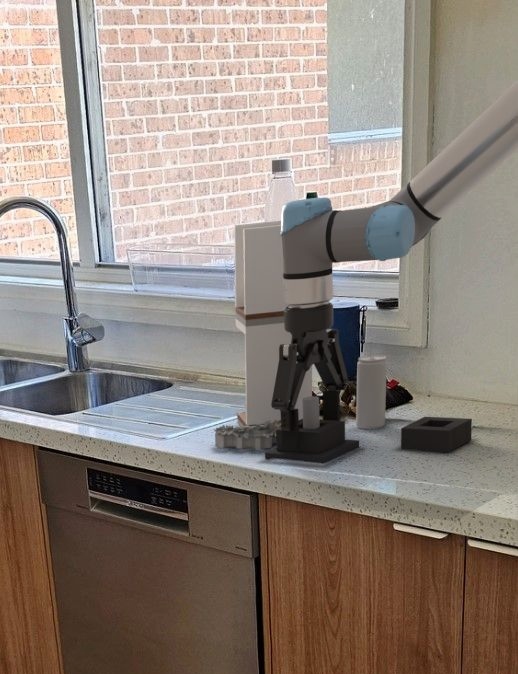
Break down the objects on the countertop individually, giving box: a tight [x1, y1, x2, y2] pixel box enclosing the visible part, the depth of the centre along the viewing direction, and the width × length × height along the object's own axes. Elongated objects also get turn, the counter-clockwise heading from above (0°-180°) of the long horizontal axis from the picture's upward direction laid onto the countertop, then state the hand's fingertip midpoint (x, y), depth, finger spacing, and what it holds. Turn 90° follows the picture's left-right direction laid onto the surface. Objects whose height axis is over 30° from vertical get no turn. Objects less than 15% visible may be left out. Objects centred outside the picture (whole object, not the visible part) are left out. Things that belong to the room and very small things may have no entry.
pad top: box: [400, 416, 473, 453], centre depth 196 cm, size 8×8×4 cm
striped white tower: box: [233, 219, 313, 429], centre depth 215 cm, size 11×11×35 cm
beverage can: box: [355, 354, 388, 430], centre depth 210 cm, size 5×5×12 cm
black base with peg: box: [264, 395, 360, 464], centre depth 199 cm, size 11×11×10 cm
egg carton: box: [213, 420, 281, 451], centre depth 211 cm, size 11×8×4 cm
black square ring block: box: [275, 419, 346, 454], centre depth 200 cm, size 8×8×4 cm
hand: (311, 439), depth 200 cm, fingers open, 12 cm apart
